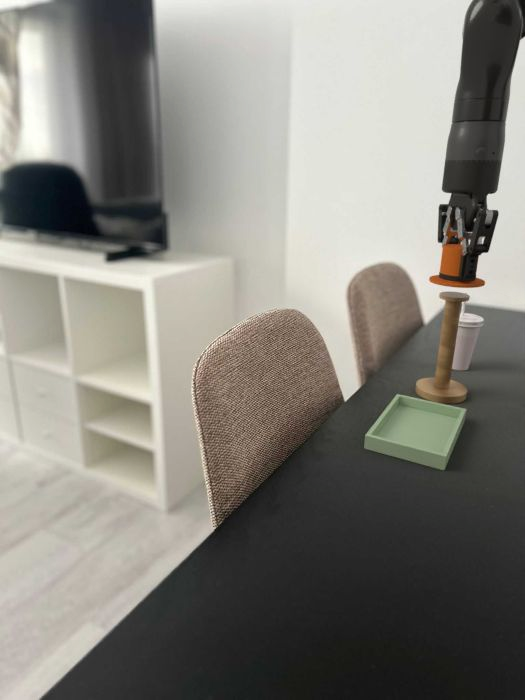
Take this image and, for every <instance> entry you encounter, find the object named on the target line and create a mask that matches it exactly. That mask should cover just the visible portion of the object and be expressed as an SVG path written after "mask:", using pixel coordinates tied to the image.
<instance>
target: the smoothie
mask: <svg viewBox="0 0 525 700" xmlns="http://www.w3.org/2000/svg"><path fill="white" fill-rule="evenodd" d="M464 293H465V294H468V293H467V292H464ZM466 304H467V301H466V302H462V305H461V311H460V318H459V325H458V331H457V338H456V345H455V352H454V358H453V365H452V370H454V371H461V372H462V371H467V370H469V367H470V364H471V360H472V358H473V354H474V350H475V347H476V344H477V341H478V338H479V335H480V331H481V327H482V326H484V325H485V324H484V321H485V319H484V317H482V316H480V315H478V314H474V313H469V312H465V311H466V306H467V305H466Z"/></svg>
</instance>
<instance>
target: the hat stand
mask: <svg viewBox="0 0 525 700" xmlns="http://www.w3.org/2000/svg"><path fill="white" fill-rule="evenodd" d="M465 293H466V292H460V291H441V292H439V295H438V298H439V299H441V300H443V301H444V309H443V315H442V321H441V322H442V323H441V331H440V336H439V344H438V351H437V352H438V353H437V359H436V367H435V373H434V376H432V377H423V378H420V379H418V380H417V381H416V383H415V388H414V389H415V394H417V395H418V396H419V397H421V399H423V400H427V401H432V402H436V403H441V404H446V405H449V404H452V405H453V404H458V403H462V402H464V401H465V400H466V399H467V397H468V388H467V387H466V386H465V385H464V384H462V383H461V382H458V381H456V380H453V379H451V377H452V373H453V372H452V371H453V369H452V365H453V358H454V352H455V345H456V338H457V331H458V325H459V318H460V313H461V310H462V303H463V302H466V303H467V302H469V301H470V298H471V296H470V295H469V294H468V293H467V294H465Z"/></svg>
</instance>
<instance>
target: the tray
mask: <svg viewBox="0 0 525 700" xmlns="http://www.w3.org/2000/svg"><path fill="white" fill-rule="evenodd" d="M467 411H468V410H467V408H464V407H459V406H455V405H449V404H446V403H438V402H433V401H430V400H427V399H424V398H417V397H412V396H409V395H403V394H399V393H397V394H395V396H394V397H393V398H392V400H391V401H390V402H389V403H388V405H387V406H386V407H385V409H384V410H383V411H382V413H381V414H380V416H379V417H378V418H377V419H376V420H375V422H374V423H373V425H371V427H370V428H369V429H368V431H367V432H366V433H365V435H364V445H363V450H367V451H372V452H375V453H378V454H383V455H386V456H390V457H393V458H397V459H400V460H404V461H408V462H411V463H415V464H418V465H421V466H425V467H429V468H433V469H436V470H440V471H445V470H446V467H447V465H448V463H449V460H450V458H451V455H452V453H453V451H454V449H455V446H456V444H457V441H458V438H459V437H460V434H461V431H462V429H463V426H464V424H465V422H466V416H467Z"/></svg>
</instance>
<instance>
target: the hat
mask: <svg viewBox="0 0 525 700" xmlns="http://www.w3.org/2000/svg"><path fill="white" fill-rule="evenodd" d="M461 255H463V254H462V243H461V244H447V245H443V248H442V251H441V258H440V259H441V260H440V266H439V272H438V274H435V275H431V276H429V278H428V280H429V282H430V283H432V284H434V285H438V286H441V287H448V288H449V287H450V288H457V289H458V288H459V289H460V288H461V289H474V288H481V287H484V286H485V285H486V281H485V280H484V279H482V278H479V277H477V274H476V275H475V279H474V281H461V280H459V278H458V277H459V270H460V263H461ZM479 258H480V255H479V256H478V259H479ZM478 263H479V261H478V262H477V266H478ZM477 271H478V267H477V268H476V273H477Z"/></svg>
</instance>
